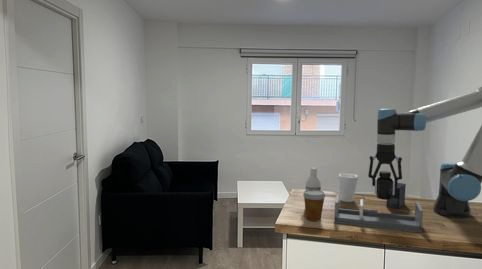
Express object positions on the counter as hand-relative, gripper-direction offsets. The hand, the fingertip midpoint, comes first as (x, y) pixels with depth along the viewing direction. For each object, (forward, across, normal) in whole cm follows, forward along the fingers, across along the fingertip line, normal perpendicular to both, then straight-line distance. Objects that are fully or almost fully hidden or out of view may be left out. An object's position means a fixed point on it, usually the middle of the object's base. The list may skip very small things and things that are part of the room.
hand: (384, 193), depth 170 cm
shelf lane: (+10, +4, +12) cm, 16 cm away
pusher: (+8, +7, +12) cm, 16 cm away
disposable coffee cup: (+9, +30, +17) cm, 36 cm away
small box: (+10, -6, -16) cm, 20 cm away
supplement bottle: (+2, 0, 0) cm, 2 cm away
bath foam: (+9, +32, +4) cm, 33 cm away
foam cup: (+10, +17, -17) cm, 26 cm away
